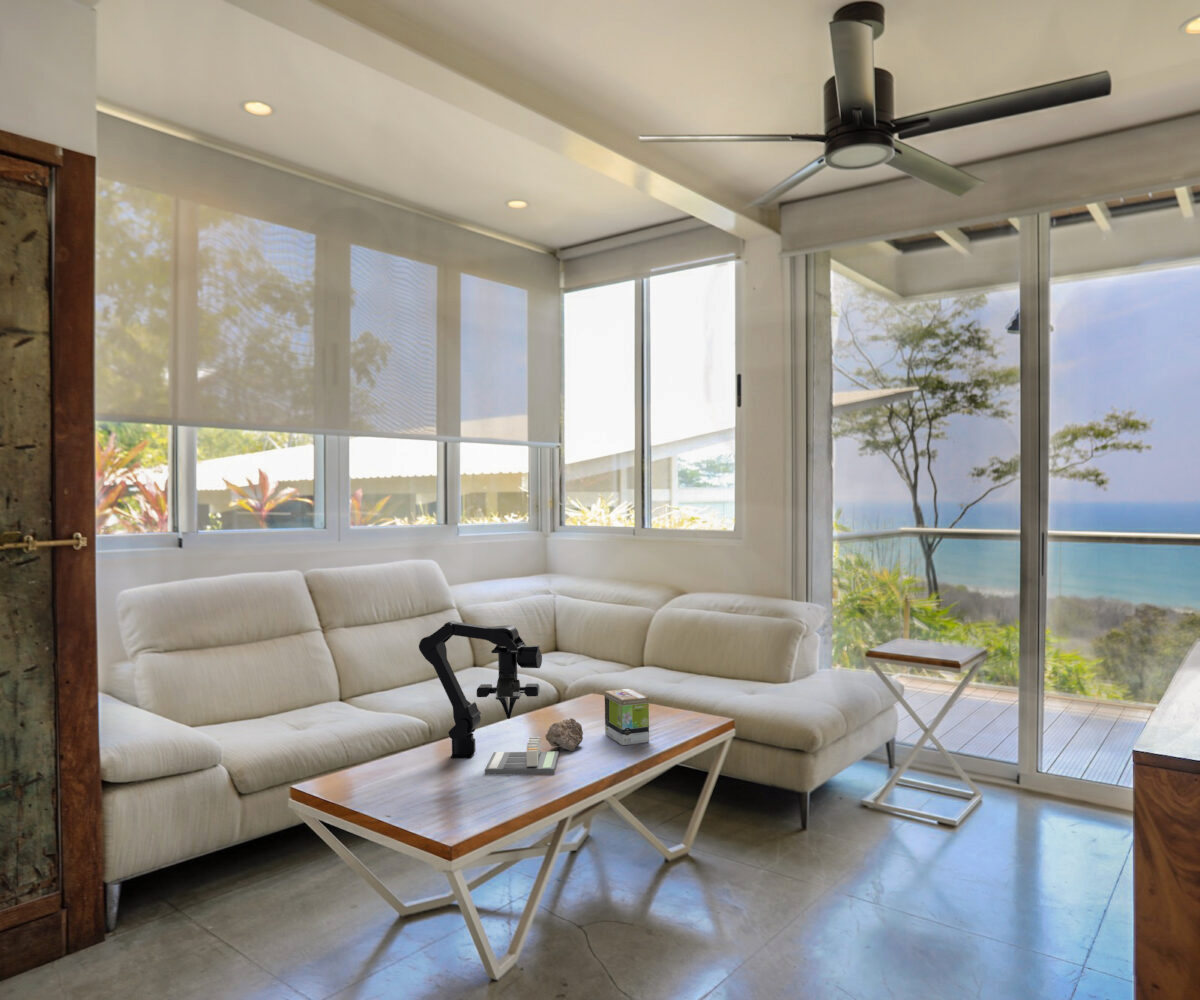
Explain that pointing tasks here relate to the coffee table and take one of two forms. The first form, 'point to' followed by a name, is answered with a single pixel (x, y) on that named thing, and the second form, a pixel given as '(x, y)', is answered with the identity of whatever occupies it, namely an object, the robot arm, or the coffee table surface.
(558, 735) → the coral
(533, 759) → the block
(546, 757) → the breaker panel
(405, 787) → the coffee table surface
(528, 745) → the block
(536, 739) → the block
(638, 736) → the tea box
